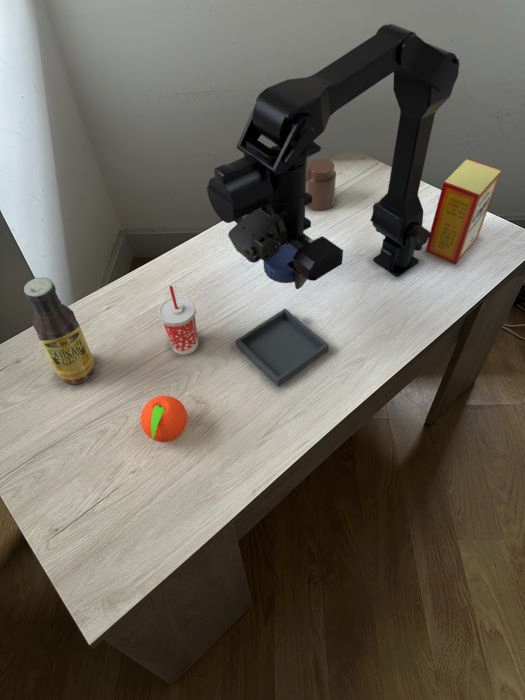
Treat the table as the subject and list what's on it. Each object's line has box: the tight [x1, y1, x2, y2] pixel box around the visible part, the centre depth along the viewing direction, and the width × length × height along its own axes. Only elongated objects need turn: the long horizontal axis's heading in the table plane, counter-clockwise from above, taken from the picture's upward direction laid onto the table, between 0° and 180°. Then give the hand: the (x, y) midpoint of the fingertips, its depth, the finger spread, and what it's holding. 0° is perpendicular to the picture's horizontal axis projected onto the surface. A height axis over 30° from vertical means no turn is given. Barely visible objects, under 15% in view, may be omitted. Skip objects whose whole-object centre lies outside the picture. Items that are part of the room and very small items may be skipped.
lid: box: [262, 243, 298, 284], centre depth 79 cm, size 7×7×2 cm
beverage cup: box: [157, 285, 199, 355], centre depth 85 cm, size 6×6×14 cm
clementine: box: [140, 395, 188, 443], centre depth 77 cm, size 8×7×7 cm
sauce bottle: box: [23, 276, 95, 385], centre depth 80 cm, size 7×6×20 cm
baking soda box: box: [425, 158, 503, 265], centre depth 98 cm, size 10×6×16 cm
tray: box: [235, 308, 329, 388], centre depth 89 cm, size 11×11×2 cm
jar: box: [305, 157, 337, 212], centre depth 111 cm, size 6×6×9 cm
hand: (284, 276), depth 81 cm, fingers closed on lid, 6 cm apart
